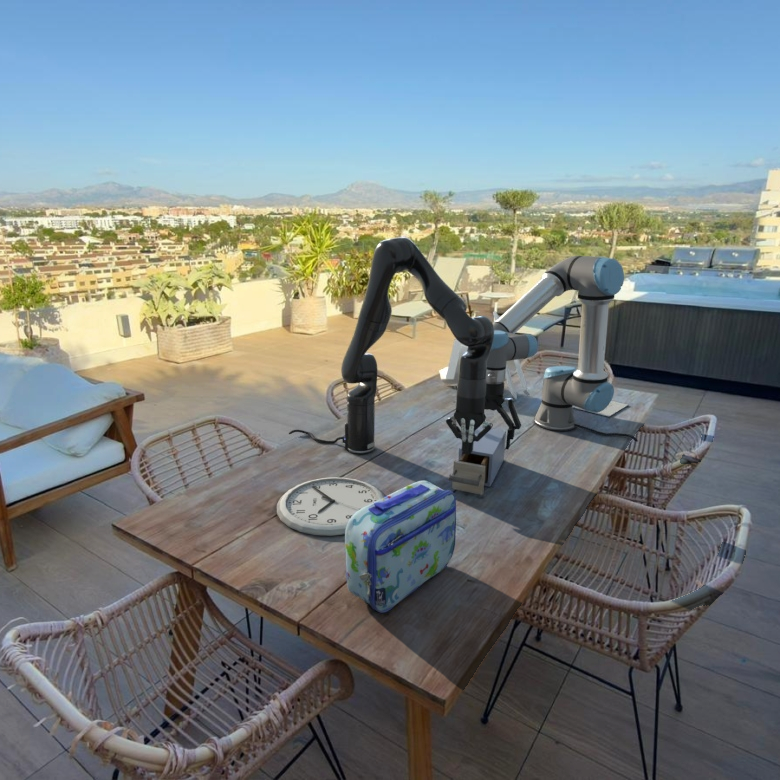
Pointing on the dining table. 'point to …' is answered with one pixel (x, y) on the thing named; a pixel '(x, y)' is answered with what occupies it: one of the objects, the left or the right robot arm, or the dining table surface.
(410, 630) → the dining table surface
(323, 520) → the wall clock
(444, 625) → the dining table surface
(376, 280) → the left robot arm
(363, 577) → the lunch box
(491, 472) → the cabinet
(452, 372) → the white plastic object
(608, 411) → the invitation card
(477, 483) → the drawer
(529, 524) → the dining table surface
